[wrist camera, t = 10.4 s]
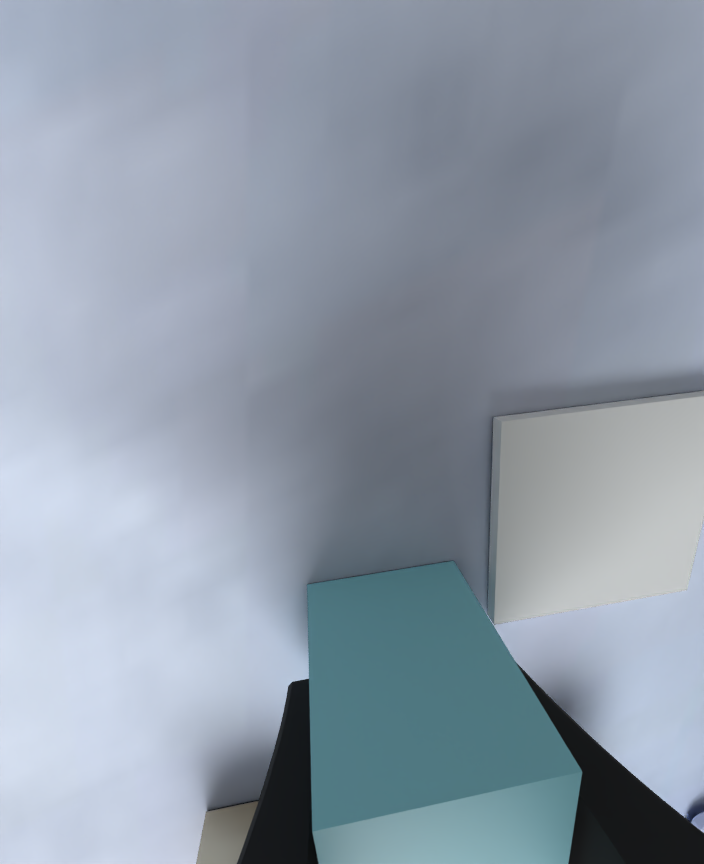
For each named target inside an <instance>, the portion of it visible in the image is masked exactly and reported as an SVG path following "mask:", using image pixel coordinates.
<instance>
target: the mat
mask: <svg viewBox="0 0 704 864" xmlns="http://www.w3.org/2000/svg"><path fill="white" fill-rule="evenodd" d="M703 519H704V391H697V392H689V393H681V394H674V395H666V396H658V397H650V398H642V399H634V400H626V401H618V402H610V403H602V404H594V405H586V406H578V407H570V408H562V409H554V410H546V411H538V412H530V413H522V414H514V415H506V416H498V417H493V448H492V481H491V514H490V546H489V579H488V612H487V614H488V616H489V617H490V619H491V621H492V622H493V624H494V625H495V624H501V623H507V622H512V621H518V620H523V619H529V618H535V617H540V616H546V615H551V614H557V613H562V612H568V611H574V610H579V609H585V608H590V607H596V606H602V605H607V604H613V603H618V602H624V601H630V600H635V599H641V598H646V597H652V596H657V595H663V594H669V593H674V592H680V591H685V590H687V588H688V584H689V579H690V575H691V571H692V566H693V562H694V558H695V554H696V549H697V545H698V541H699V537H700V532H701V528H702V524H703Z"/></svg>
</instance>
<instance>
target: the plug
mask: <svg viewBox="0 0 704 864" xmlns="http://www.w3.org/2000/svg"><path fill="white" fill-rule="evenodd" d="M307 600H308V649H309V697H310V746H311V794H312V833H313V838H314V843H315V848H316V853H317V858H318V863H319V864H568V863H569V856H570V849H571V843H572V836H573V830H574V823H575V816H576V810H577V803H578V797H579V790H580V784H581V777H582V770H581V769H580V767H579V765H578V764H577V762H576V760H575V759H574V757H573V756H572V754H571V752H570V751H569V749H568V747H567V746H566V744H565V742H564V741H563V739H562V738H561V736H560V734H559V733H558V731H557V729H556V728H555V726H554V724H553V723H552V721H551V720H550V718H549V716H548V715H547V713H546V711H545V710H544V708H543V706H542V705H541V703H540V702H539V700H538V698H537V697H536V695H535V693H534V692H533V690H532V688H531V687H530V685H529V683H528V682H527V680H526V679H525V677H524V675H523V674H522V672H521V670H520V669H519V667H518V665H517V664H516V662H515V661H514V659H513V657H512V656H511V654H510V652H509V651H508V649H507V647H506V646H505V644H504V643H503V641H502V639H501V638H500V636H499V634H498V633H497V631H496V629H495V628H494V626H493V624H492V623H491V621H490V620H489V618H488V616H487V615H486V613H485V611H484V610H483V608H482V606H481V605H480V603H479V602H478V600H477V598H476V597H475V595H474V593H473V592H472V590H471V588H470V587H469V585H468V584H467V582H466V580H465V579H464V577H463V575H462V574H461V572H460V570H459V569H458V567H457V565H456V564H455V562H454V561H449V562H443V563H437V564H431V565H425V566H419V567H412V568H406V569H400V570H394V571H388V572H381V573H375V574H369V575H363V576H357V577H351V578H344V579H338V580H332V581H326V582H320V583H313V584H307Z"/></svg>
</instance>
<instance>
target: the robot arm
mask: <svg viewBox="0 0 704 864" xmlns="http://www.w3.org/2000/svg"><path fill="white" fill-rule="evenodd" d="M516 664H517V663H516ZM517 665H518V664H517ZM518 667H519V669H520V670H521V672H522V674H523V675H524V677H525V679H526V680H527V682H528V683H529V685H530V687H531V688H532V690H533V692H534V693H535V695H536V697H537V698H538V700H539V702H540V703H541V705H542V706H543V708H544V710H545V711H546V713H547V715H548V716H549V718H550V720H551V721H552V723H553V724H554V726H555V728H556V729H557V731H558V733H559V734H560V736H561V738H562V739H563V741H564V742H565V744H566V746H567V747H568V749H569V751H570V752H571V754H572V756H573V757H574V759H575V760H576V762H577V764H578V765H579V767H580V769H581V770H582V777H581V784H580V790H579V797H578V803H577V810H576V816H575V823H574V830H573V836H572V843H571V849H570V856H569V863H568V864H704V812H702V813H699V814H698V815H696V816H695V817H694V818H693V819H692V821H691V823H690V822H689V821H688V820H687V819H686V818H684V817H683V816H682V815H681V814H679V813H678V812H677V811H676V810H675V809H673V808H672V807H671V806H670V805H668V804H667V803H666V802H665V801H663V800H662V799H661V798H660V797H659V796H657V795H656V794H655V793H654V792H653V791H652V790H650V789H649V788H648V787H647V786H646V785H644V784H643V783H642V782H641V781H640V780H639V779H638V778H636V777H635V776H634V775H633V774H632V773H631V772H629V771H628V770H627V769H626V768H625V767H624V766H623V765H622V764H620V763H619V762H618V761H617V760H616V759H615V758H614V757H613V756H611V755H610V754H609V753H608V752H607V751H606V750H605V749H604V748H603V747H601V746H600V745H599V744H598V743H597V742H596V741H595V740H594V739H593V738H592V737H591V736H590V735H588V734H587V733H586V732H585V731H584V730H583V729H582V728H581V727H580V726H579V725H578V724H577V723H576V722H575V721H574V720H573V719H572V718H571V717H570V716H569V715H568V714H567V713H566V712H564V711H563V710H562V709H561V708H560V707H559V706H558V705H557V704H556V703H555V702H554V701H553V700H552V699H551V698H550V697H549V696H548V695H547V694H546V693H545V692H544V691H543V690H542V689H541V688H540V687H539V686H538V685H537V684H536V683H535V682H534V681H533V680H532V679H531V678H530V676H529V675H528V674H527V673H526V672H525V671H524V670H523V669H522V668H521V667H520V666H519V665H518ZM237 864H319V863H318V858H317V853H316V848H315V843H314V838H313V833H312V794H311V746H310V697H309V679H305V680H300V681H295V682H292V683H291V684H290V685H289V686H288V692H287V698H286V703H285V708H284V713H283V717H282V722H281V726H280V730H279V734H278V737H277V741H276V745H275V749H274V752H273V756H272V759H271V762H270V766H269V769H268V772H267V776H266V779H265V782H264V786H263V789H262V792H261V795H260V798H259V801H258V805H257V807H256V810H255V813H254V816H253V819H252V822H251V825H250V828H249V830H248V833H247V836H246V839H245V842H244V845H243V848H242V851H241V853H240V856H239V859H238V862H237Z"/></svg>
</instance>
